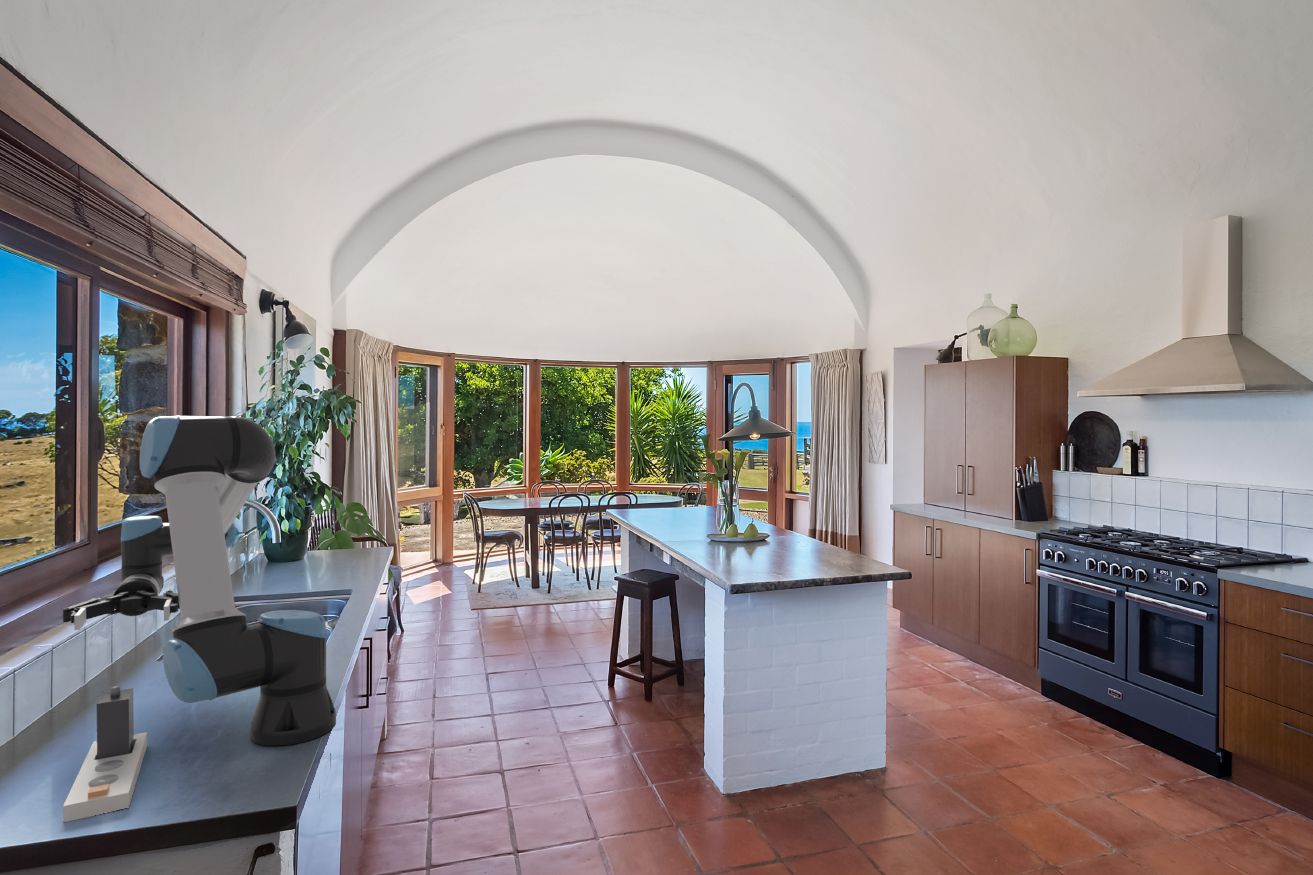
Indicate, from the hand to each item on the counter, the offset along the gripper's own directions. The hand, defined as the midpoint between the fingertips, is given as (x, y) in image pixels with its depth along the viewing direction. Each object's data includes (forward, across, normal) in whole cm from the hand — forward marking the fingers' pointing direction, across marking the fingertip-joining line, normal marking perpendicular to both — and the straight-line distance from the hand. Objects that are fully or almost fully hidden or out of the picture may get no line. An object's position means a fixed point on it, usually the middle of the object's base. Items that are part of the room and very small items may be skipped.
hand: (122, 618), depth 136 cm
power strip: (+17, 0, -24) cm, 29 cm away
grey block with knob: (+10, 0, -22) cm, 25 cm away
